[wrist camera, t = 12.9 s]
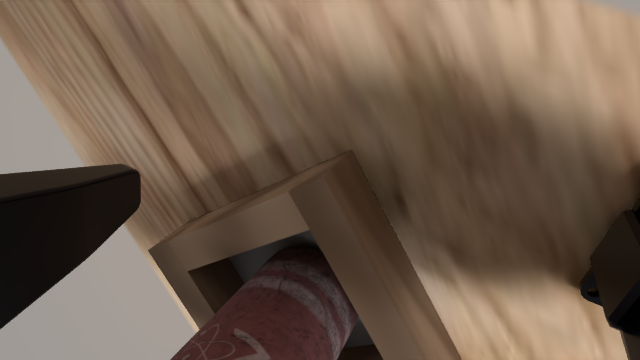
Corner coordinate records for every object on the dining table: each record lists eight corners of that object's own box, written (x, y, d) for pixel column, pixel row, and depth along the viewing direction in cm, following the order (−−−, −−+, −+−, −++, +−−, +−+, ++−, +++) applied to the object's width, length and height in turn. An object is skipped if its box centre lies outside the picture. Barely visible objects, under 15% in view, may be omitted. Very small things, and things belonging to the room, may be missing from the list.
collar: (351, 150, 20) (323, 177, 17) (461, 358, 23) (452, 413, 20) (187, 222, 27) (148, 250, 24) (284, 376, 29) (259, 419, 27)
